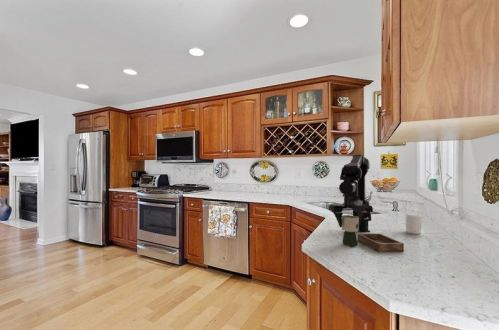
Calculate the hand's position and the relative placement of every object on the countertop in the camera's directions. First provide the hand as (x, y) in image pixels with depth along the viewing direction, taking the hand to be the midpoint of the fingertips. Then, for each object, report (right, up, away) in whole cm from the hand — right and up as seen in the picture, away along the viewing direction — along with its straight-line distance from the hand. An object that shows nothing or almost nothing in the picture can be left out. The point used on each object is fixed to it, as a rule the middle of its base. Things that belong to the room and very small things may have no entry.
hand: (350, 227), depth 111 cm
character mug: (0, -8, 0) cm, 8 cm away
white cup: (+46, -10, +25) cm, 53 cm away
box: (+13, -8, 0) cm, 15 cm away
